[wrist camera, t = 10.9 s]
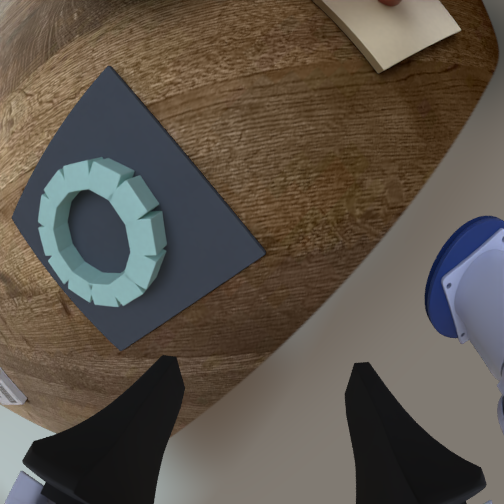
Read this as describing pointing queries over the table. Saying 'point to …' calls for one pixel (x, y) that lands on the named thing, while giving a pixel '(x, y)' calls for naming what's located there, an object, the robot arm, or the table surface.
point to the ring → (130, 211)
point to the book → (10, 391)
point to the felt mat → (170, 203)
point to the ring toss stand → (390, 26)
